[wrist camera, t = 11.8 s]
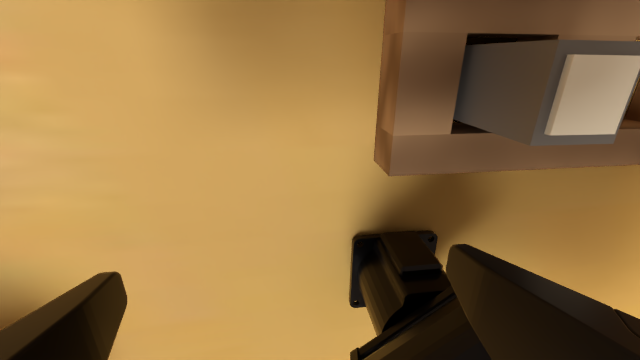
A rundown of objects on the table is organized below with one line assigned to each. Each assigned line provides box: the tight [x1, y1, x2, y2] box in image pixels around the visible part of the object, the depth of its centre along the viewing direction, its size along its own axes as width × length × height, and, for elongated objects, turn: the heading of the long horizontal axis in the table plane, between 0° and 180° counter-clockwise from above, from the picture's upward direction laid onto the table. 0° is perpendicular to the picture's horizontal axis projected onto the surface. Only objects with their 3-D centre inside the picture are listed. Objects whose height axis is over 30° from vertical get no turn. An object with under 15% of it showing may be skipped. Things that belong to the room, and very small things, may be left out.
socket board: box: [374, 0, 640, 176], centre depth 18 cm, size 14×22×4 cm, turn 90°
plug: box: [453, 39, 640, 146], centre depth 16 cm, size 4×4×8 cm
